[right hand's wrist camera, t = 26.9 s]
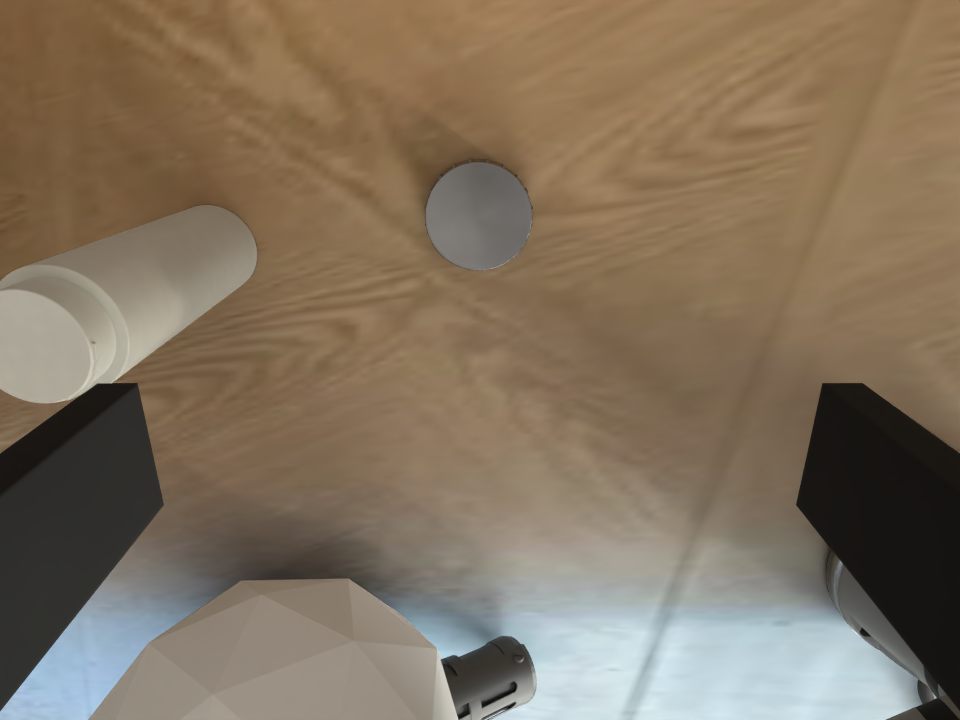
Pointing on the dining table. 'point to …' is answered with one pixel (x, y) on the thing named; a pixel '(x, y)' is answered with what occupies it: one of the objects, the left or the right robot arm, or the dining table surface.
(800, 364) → the dining table surface
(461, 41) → the dining table surface
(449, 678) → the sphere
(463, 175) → the lid
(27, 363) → the jar
